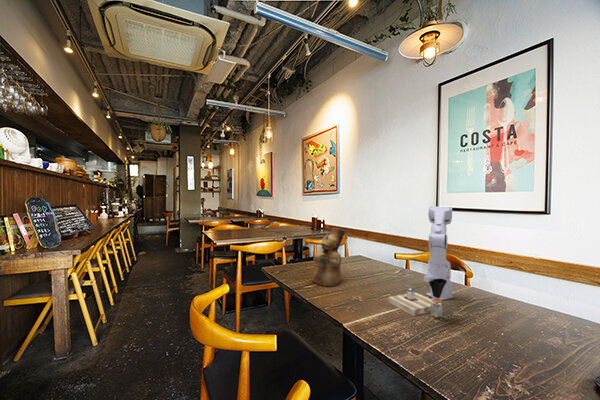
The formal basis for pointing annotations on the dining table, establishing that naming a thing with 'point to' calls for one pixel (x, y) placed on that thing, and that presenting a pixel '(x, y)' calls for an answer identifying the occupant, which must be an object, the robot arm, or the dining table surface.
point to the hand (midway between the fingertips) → (436, 297)
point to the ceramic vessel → (329, 259)
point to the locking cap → (436, 301)
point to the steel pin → (410, 294)
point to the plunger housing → (436, 310)
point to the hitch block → (412, 304)
